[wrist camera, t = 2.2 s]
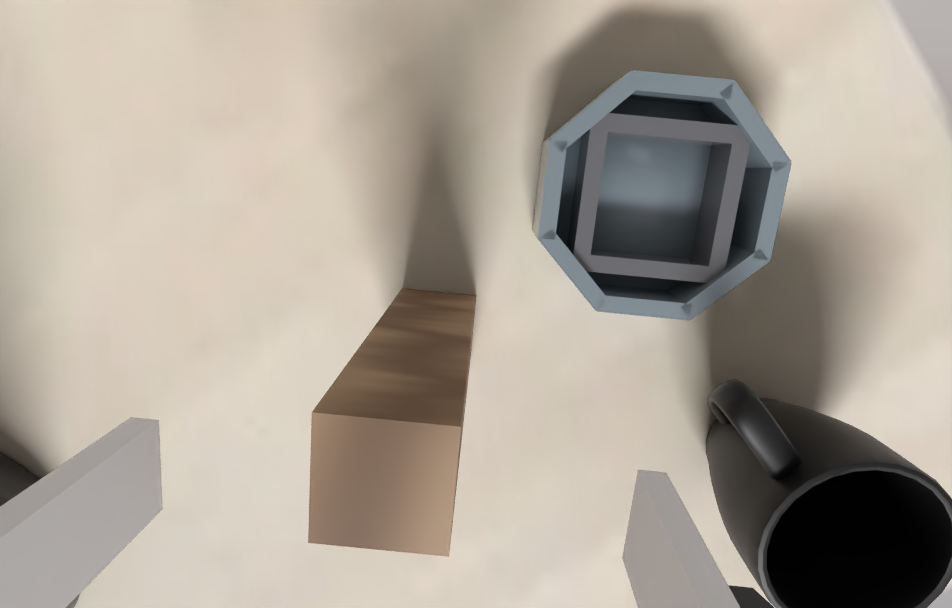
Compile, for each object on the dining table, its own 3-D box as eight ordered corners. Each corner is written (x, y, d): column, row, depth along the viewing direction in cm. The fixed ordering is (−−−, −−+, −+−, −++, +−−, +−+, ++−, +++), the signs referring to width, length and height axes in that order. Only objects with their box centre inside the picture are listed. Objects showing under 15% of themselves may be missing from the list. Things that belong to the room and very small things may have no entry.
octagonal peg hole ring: (525, 289, 31) (529, 304, 27) (550, 75, 28) (558, 63, 25) (726, 309, 31) (756, 326, 27) (769, 96, 28) (808, 86, 25)
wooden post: (397, 358, 32) (308, 542, 16) (402, 288, 31) (311, 412, 15) (469, 365, 32) (448, 556, 16) (476, 295, 31) (460, 427, 15)
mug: (743, 291, 30) (853, 346, 21) (856, 456, 32) (1001, 571, 23) (615, 379, 32) (666, 467, 23) (731, 532, 34) (821, 670, 25)
